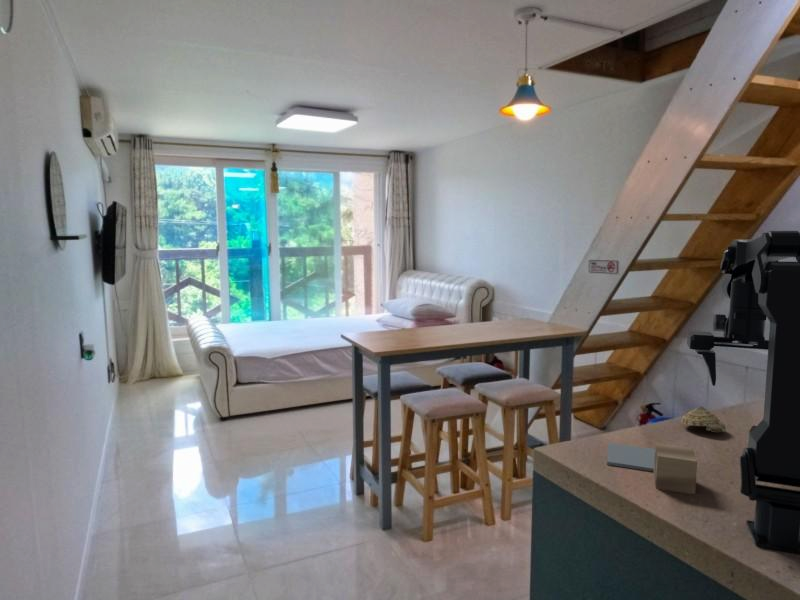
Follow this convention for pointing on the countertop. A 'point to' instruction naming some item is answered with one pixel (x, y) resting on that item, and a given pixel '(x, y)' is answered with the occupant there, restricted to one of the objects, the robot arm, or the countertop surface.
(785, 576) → the countertop surface
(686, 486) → the beige cube
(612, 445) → the coaster
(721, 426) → the seashell
